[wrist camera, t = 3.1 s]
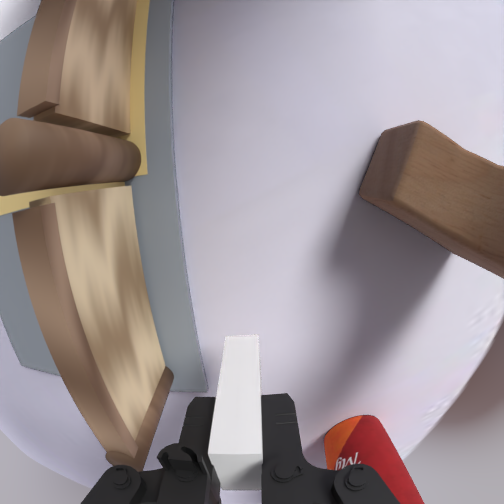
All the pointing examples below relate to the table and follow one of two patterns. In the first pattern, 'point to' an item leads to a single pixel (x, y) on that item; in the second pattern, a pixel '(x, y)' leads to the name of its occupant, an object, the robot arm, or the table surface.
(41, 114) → the fence fixed
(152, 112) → the card
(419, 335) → the table surface
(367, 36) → the table surface
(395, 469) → the paper cup
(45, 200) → the fence gate
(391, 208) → the wooden block
